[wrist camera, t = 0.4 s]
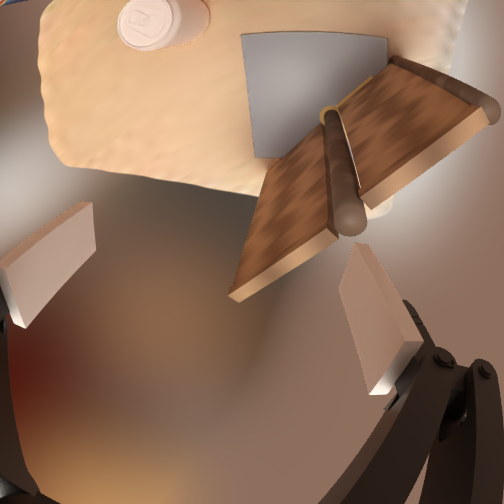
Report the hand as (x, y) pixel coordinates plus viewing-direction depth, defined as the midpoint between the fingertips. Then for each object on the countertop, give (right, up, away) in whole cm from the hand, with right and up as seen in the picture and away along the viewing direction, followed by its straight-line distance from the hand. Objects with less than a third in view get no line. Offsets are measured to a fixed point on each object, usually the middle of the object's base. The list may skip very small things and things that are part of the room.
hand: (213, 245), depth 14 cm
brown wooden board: (+8, +15, +29) cm, 34 cm away
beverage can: (-8, +33, +17) cm, 38 cm away
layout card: (+11, +22, +23) cm, 33 cm away
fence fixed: (+17, +23, +20) cm, 35 cm away
